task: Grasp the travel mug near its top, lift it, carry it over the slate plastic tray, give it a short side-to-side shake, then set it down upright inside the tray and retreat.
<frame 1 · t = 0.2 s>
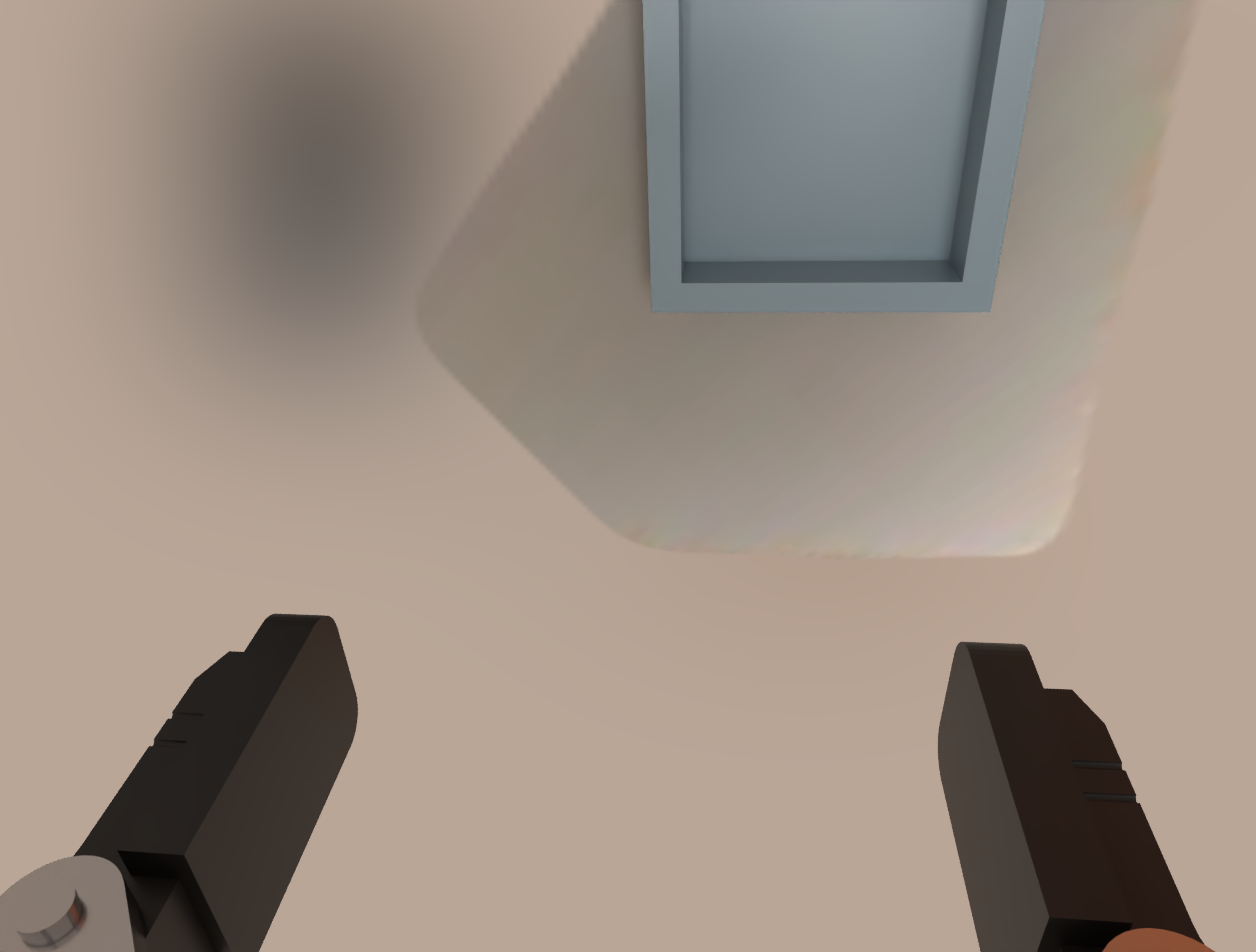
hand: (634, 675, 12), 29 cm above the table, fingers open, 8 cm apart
slate tray: (825, 76, 34), on the table
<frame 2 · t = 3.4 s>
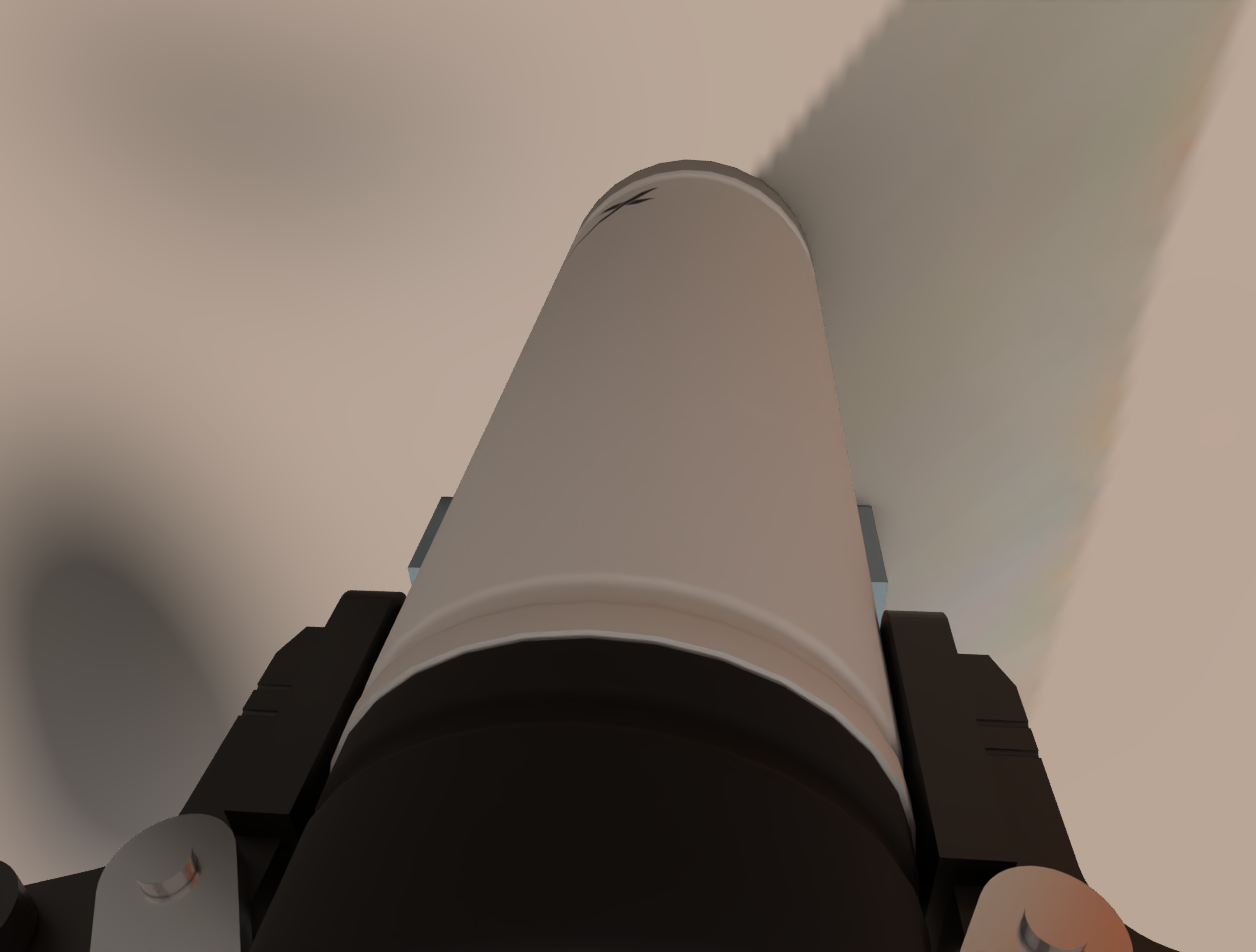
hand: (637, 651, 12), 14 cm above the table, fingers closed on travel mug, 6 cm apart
slate tray: (657, 690, 32), on the table
travel mug: (683, 277, 24), on the table, touching gripper
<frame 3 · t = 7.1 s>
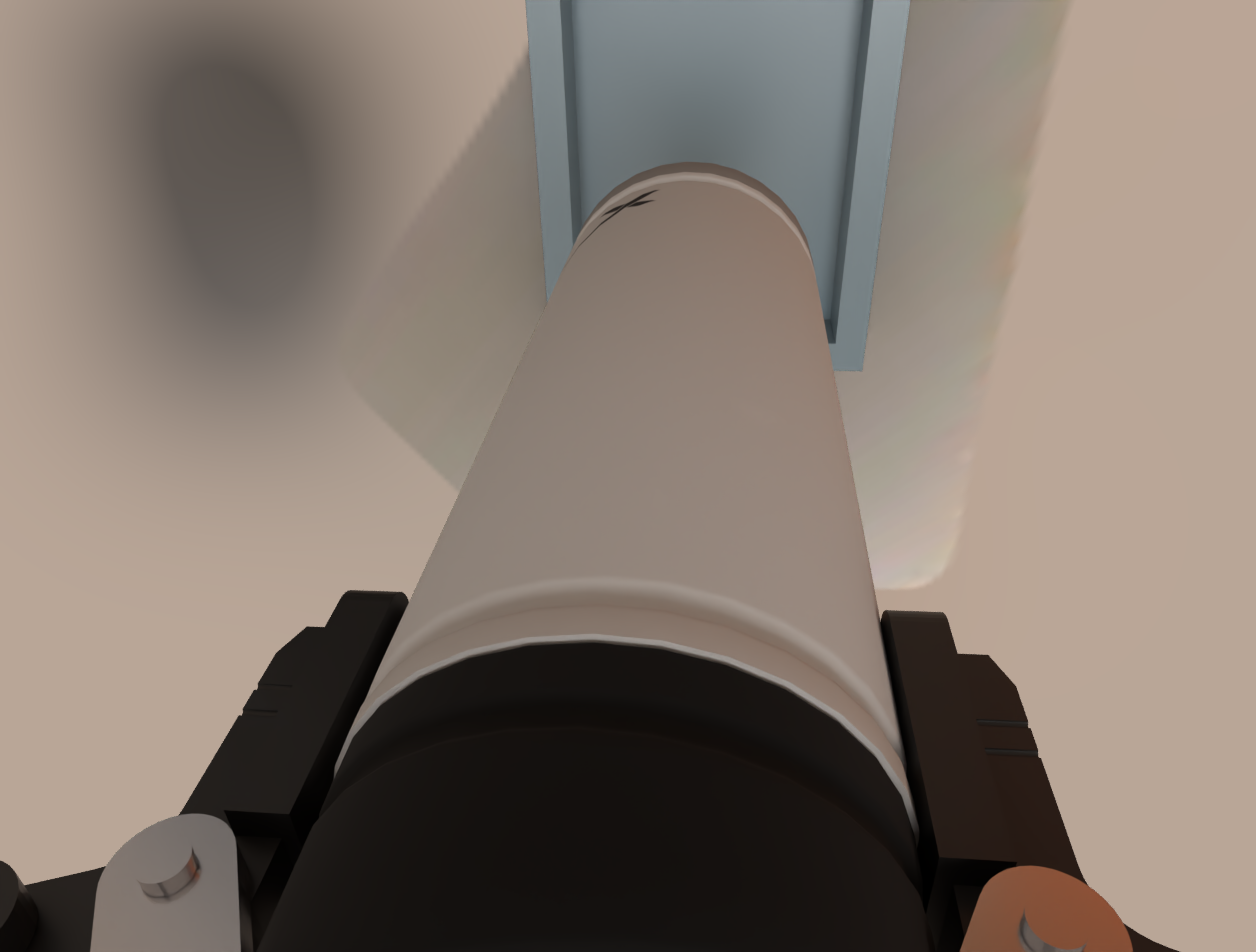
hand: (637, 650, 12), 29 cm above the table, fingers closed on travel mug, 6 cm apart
slate tray: (711, 150, 37), on the table
travel mug: (684, 278, 24), point 15 cm above the table, touching gripper
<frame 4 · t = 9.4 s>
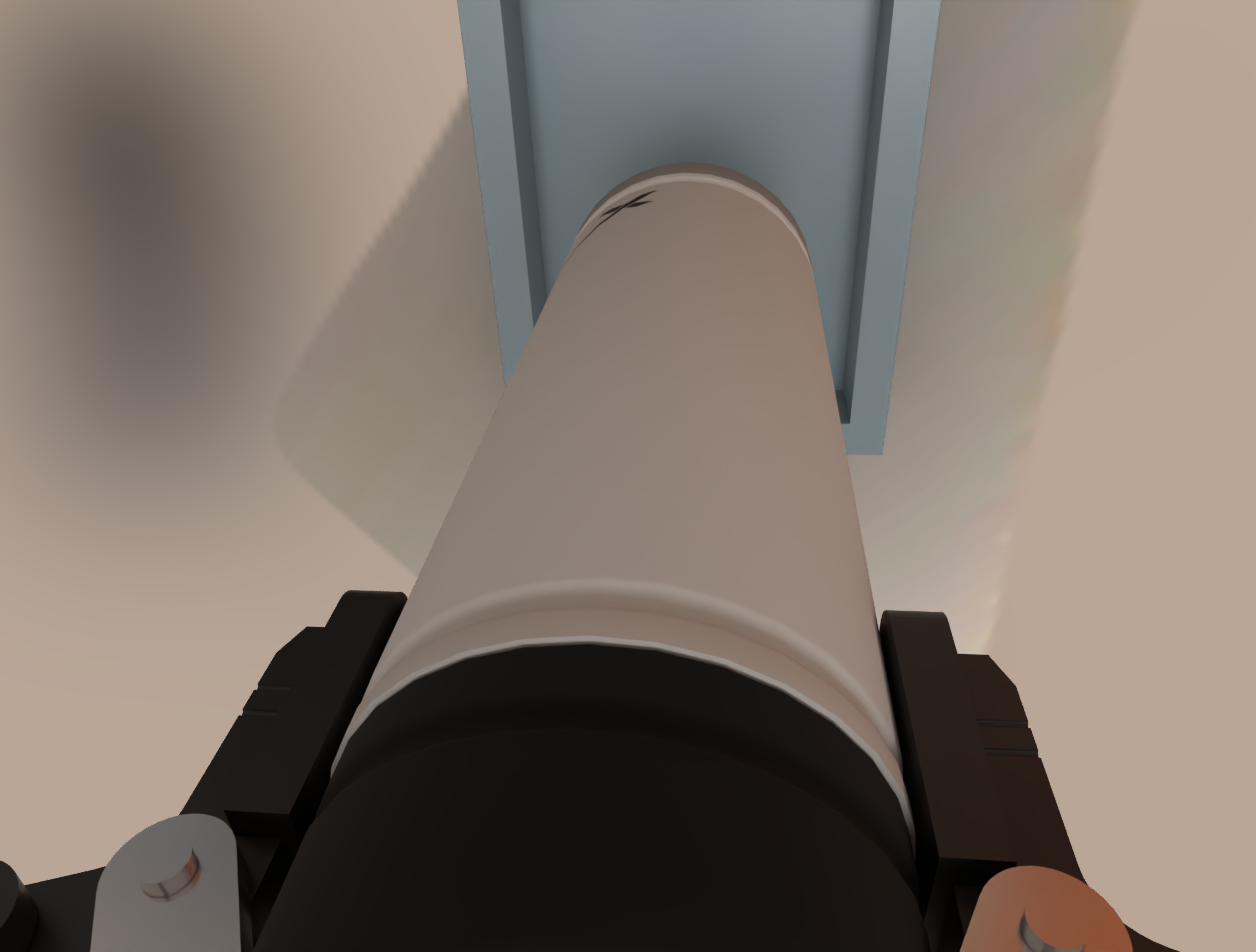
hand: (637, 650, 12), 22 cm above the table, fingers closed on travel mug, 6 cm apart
slate tray: (697, 195, 31), on the table
travel mug: (682, 279, 24), point 8 cm above the table, touching gripper
when the fingers open (16 cm above the table, at t = 11.1 s): travel mug drops 1 cm, resting on slate tray.
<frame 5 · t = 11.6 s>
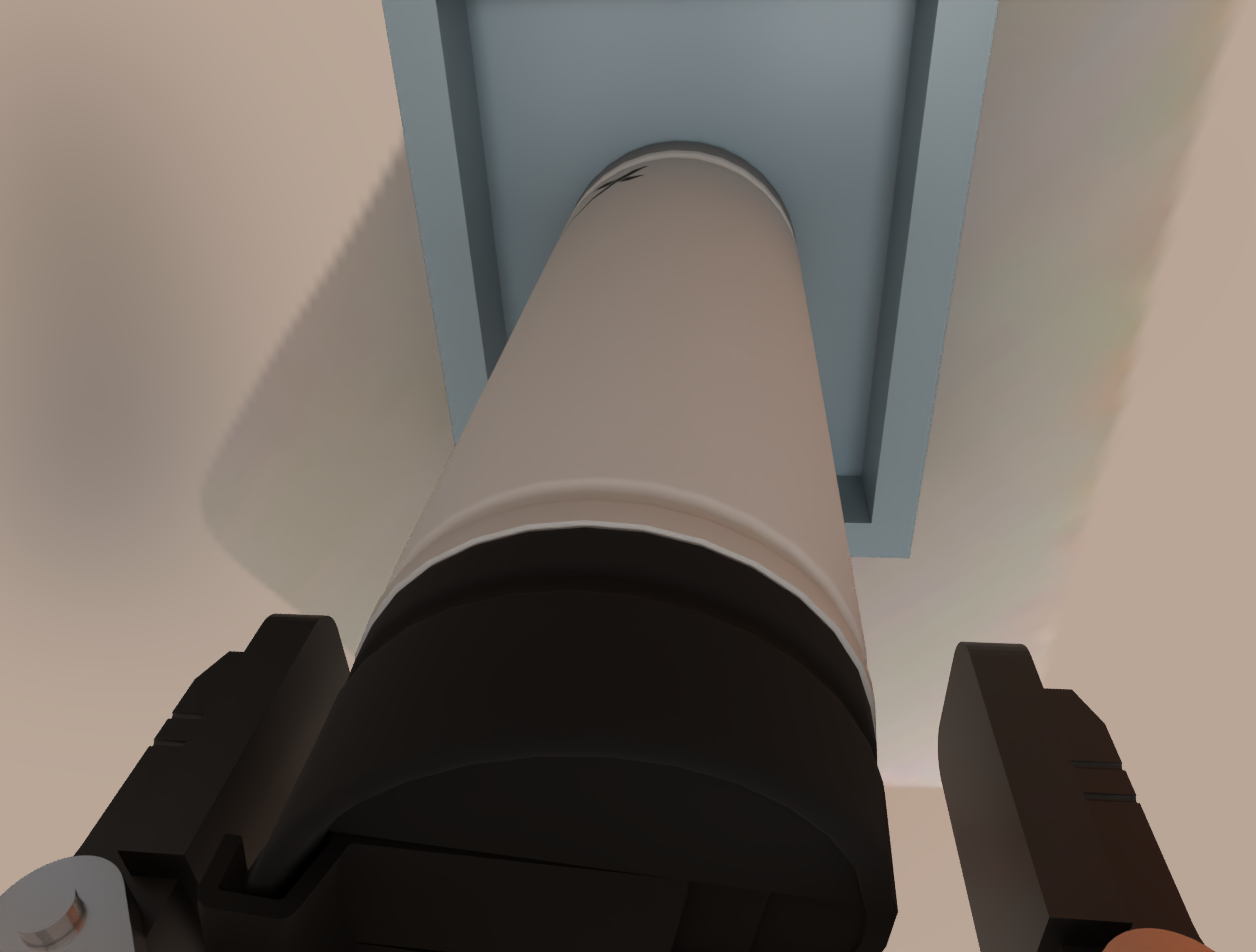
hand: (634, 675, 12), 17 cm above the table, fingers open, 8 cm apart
slate tray: (689, 250, 26), on the table
travel mug: (673, 254, 25), point 1 cm above the table, touching slate tray
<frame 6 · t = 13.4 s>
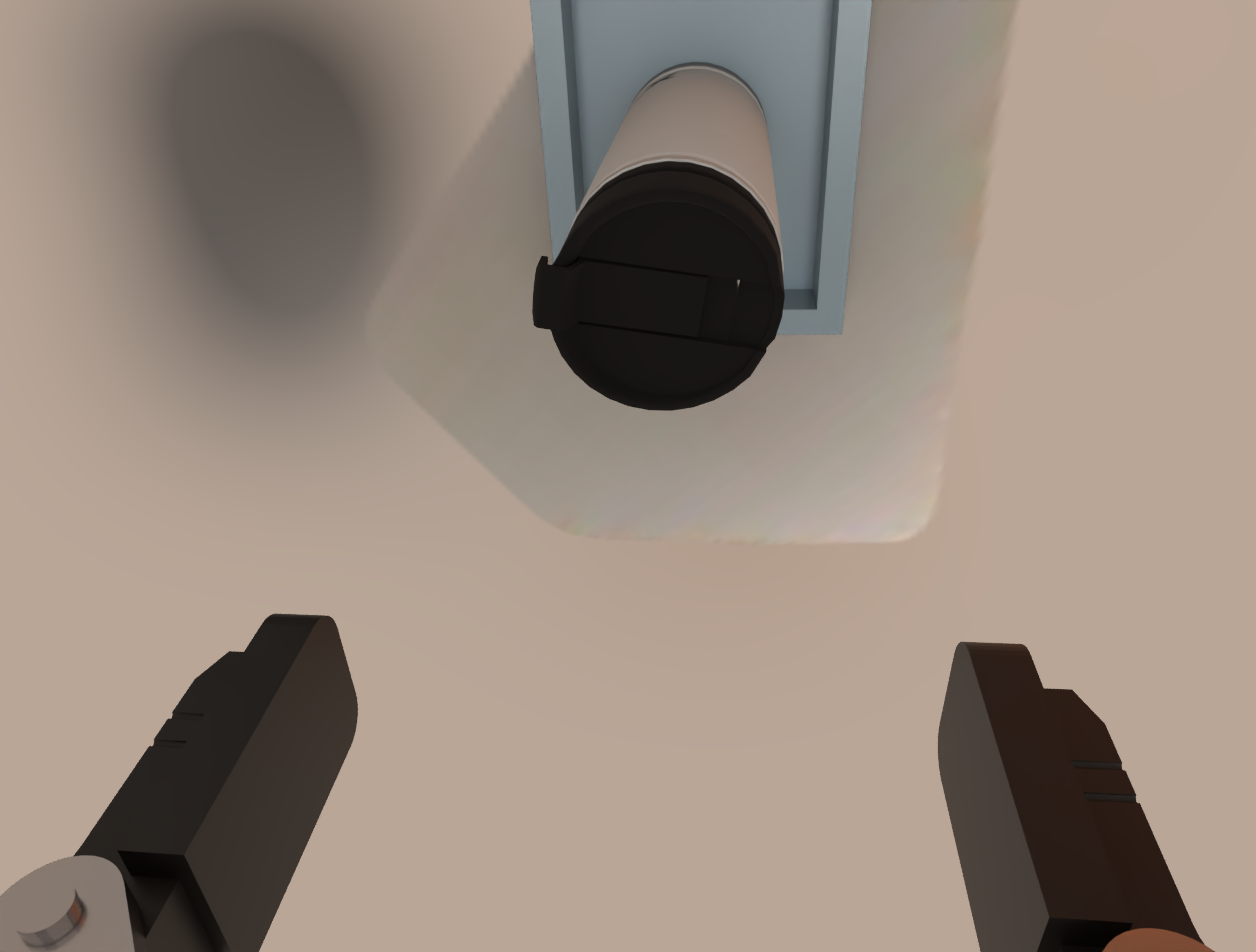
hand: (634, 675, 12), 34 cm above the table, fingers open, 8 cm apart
slate tray: (701, 136, 41), on the table
travel mug: (691, 137, 40), point 1 cm above the table, touching slate tray
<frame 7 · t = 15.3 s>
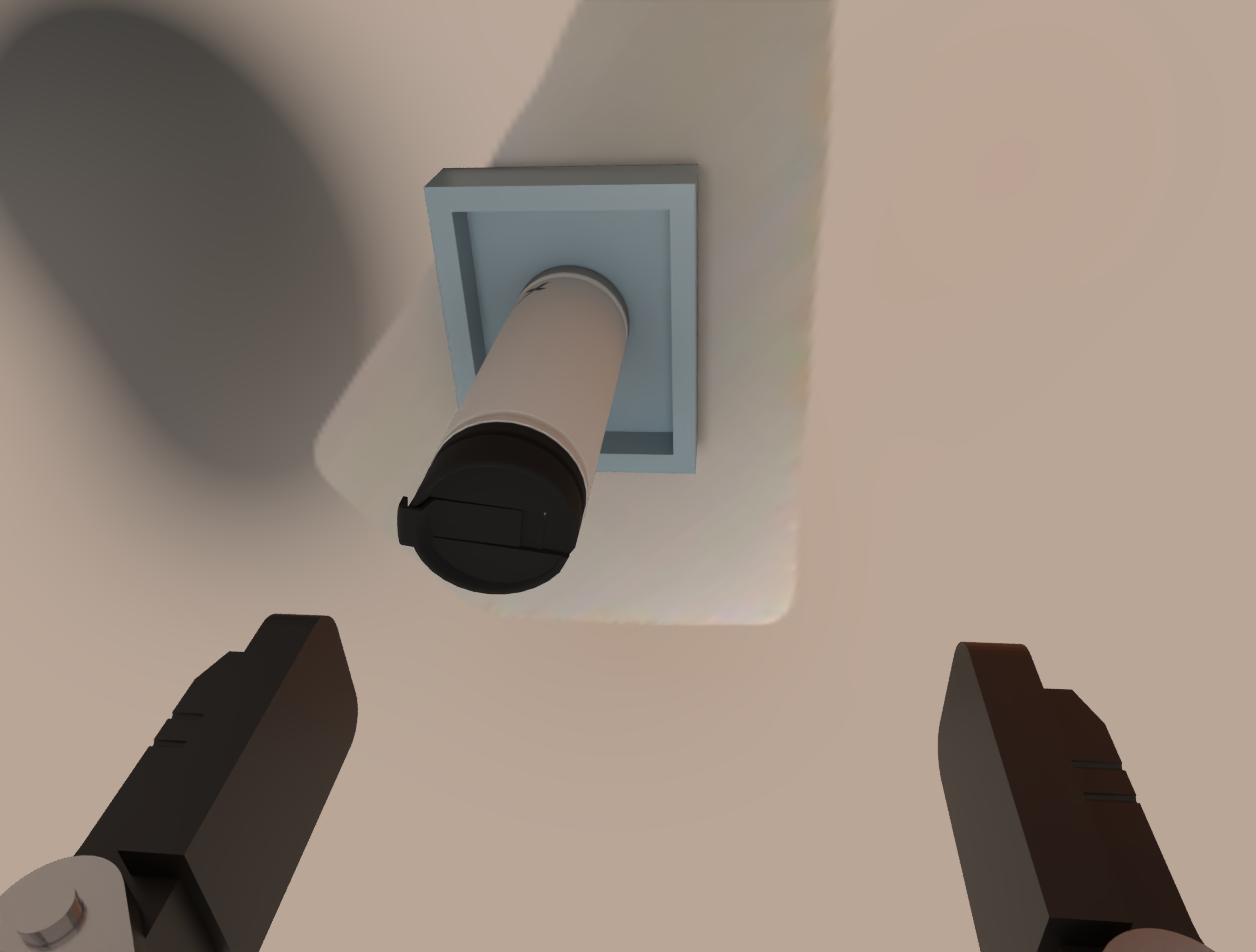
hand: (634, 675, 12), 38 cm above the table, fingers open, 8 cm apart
slate tray: (579, 314, 50), on the table
travel mug: (570, 318, 50), point 1 cm above the table, touching slate tray
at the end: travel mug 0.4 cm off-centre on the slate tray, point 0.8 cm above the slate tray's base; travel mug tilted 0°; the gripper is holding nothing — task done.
